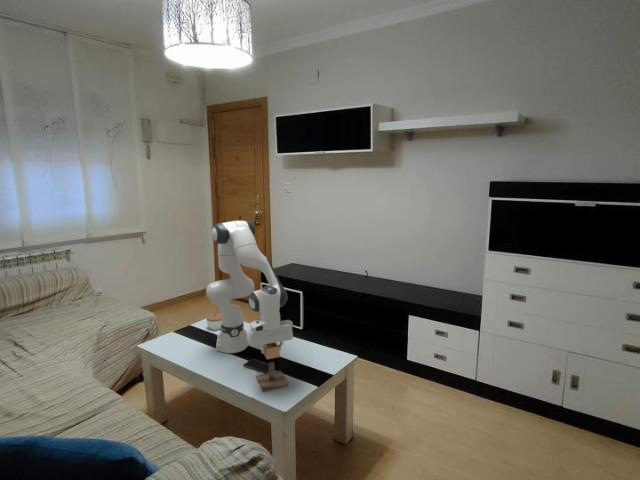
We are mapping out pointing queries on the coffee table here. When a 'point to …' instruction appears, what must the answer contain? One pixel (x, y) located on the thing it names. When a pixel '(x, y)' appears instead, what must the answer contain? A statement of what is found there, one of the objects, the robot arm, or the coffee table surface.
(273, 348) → the wooden square sleeve
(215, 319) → the lidded jar
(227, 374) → the coffee table surface
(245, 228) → the robot arm
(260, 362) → the phone
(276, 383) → the post stand
